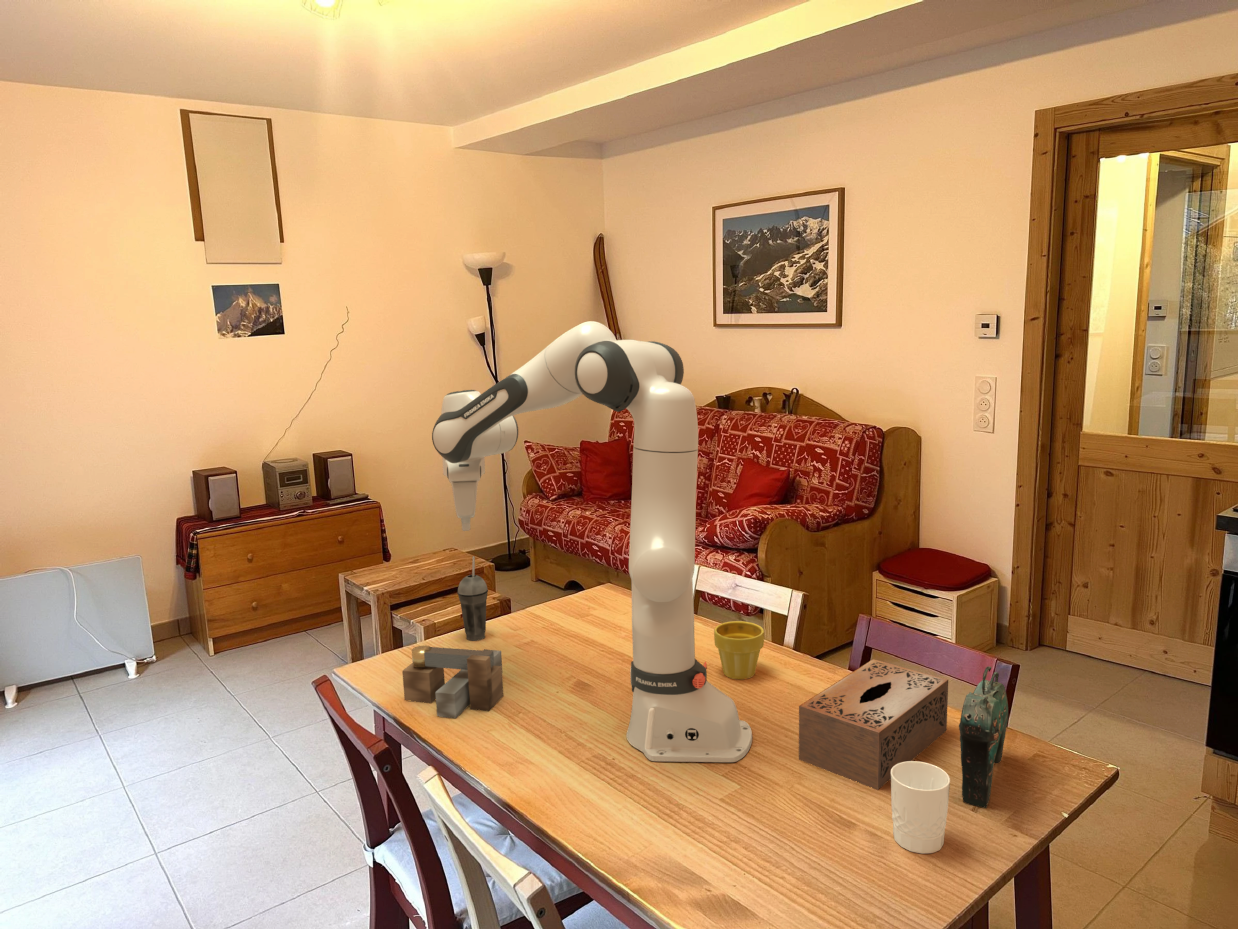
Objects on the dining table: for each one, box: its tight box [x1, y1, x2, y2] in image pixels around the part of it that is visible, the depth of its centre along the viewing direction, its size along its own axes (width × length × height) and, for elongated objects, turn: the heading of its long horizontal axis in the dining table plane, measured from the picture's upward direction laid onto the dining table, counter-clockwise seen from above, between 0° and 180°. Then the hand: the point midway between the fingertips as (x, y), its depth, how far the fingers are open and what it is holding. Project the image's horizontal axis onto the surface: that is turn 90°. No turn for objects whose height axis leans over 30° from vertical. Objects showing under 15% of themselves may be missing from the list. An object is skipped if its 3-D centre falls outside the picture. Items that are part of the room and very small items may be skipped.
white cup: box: [890, 760, 951, 854], centre depth 120 cm, size 8×8×10 cm
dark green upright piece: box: [958, 665, 1009, 809], centre depth 134 cm, size 20×6×20 cm, turn 147°
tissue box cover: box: [798, 659, 949, 791], centre depth 147 cm, size 26×14×10 cm, turn 136°
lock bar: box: [411, 645, 494, 670], centre depth 171 cm, size 17×4×3 cm, turn 76°
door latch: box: [401, 649, 504, 719], centre depth 174 cm, size 19×22×10 cm
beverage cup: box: [457, 555, 489, 642], centre depth 203 cm, size 7×7×20 cm
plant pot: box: [713, 620, 765, 680], centre depth 178 cm, size 10×10×10 cm
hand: (466, 529), depth 183 cm, fingers closed
